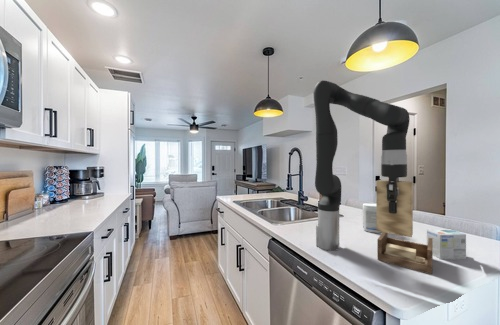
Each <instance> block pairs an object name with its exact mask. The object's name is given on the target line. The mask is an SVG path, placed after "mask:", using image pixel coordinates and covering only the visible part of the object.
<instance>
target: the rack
mask: <svg viewBox="0 0 500 325" xmlns="http://www.w3.org/2000/svg"><path fill="white" fill-rule="evenodd" d="M388 234H389V233H385V232H381V233H380V235H379V236H378V237H377V241H376V242H377V249H376V250H377V260H378V261H380V262H384V263H388V264H391V265H394V266H398V267H402V268H406V269H410V270H414V271H416V272H421V273H425V274H429V275H433V257H434V256H433V238H428V245H427V244H423V243H419V242H414V241H409V240H404V239H399V238H393V237H389V236H388ZM387 243H388V244H393V245H398V246H402V247H407V248H412V249H416V256H417V257H422V258H425V264H424V263H419V262H415V261H411V260H407V259H403V258H399V257H395V256H391V255H387V254H384V252H385V250H386V245H387Z"/></svg>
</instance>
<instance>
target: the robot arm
mask: <svg viewBox="0 0 500 325" xmlns="http://www.w3.org/2000/svg"><path fill="white" fill-rule="evenodd" d="M313 104H314V112H315V147H316V150H315V152H316V158H315V159H316V165H315V166H316V167H315V178H314V187H315V190H316V192H317V193H318V194H319V195H321V196H320V197H321V198H320V200H319V201H318V203H317V224H316V226H315V236H316V237H315V238H316V239H315V246H316V247H318V248H320V249H321V250H324V251H332V252H333V251H334V252H335V251H338V250H339V249H340V205H341V204H342V181H341V179H340V178H339V177H338V175H336V174H334V173H333V163H334V159H335V156H336V152H337V149H338V128H337V126H336V122H335V120H334V119H333V116H332V114H331V113H332V112H331V109H330V108H331V106H330V105H331V104H332V105H338V106H341V107H344V108H347V109H348V110H350V111H352V112H353V113H356V114H358V115H360V116H363V117H365V118H367V119H371V120H373V121H374V122H377V123H379V124H381V125H383V126H387V129H386V134H384V135H383V136H382V137H381V138H382V139H381V156H380V163H381V165H380V166H381V167H380V168H381V169H380V170H381V171H380V172H381V174H380V175H381V177H383V178H388V180H389V181H388V184H387V185H386V187H387V201H388V202H389V213H394V214H396V213H397V196H399V188H397V181H400V178H407V177H408V154H407V135H408V133H409V132H408V131H409V126H410V121H411V120H410V114H409V111H408V110H407V109H406V108H404V107H401V106H398V105H395V104H391V103H387V102H384V101H380V100H379V99H376V98H373V97H370V96H367V95H363V94H359V93H354V92H351V91H348V90H347V89H344V88H342V86H339V85H338V84H337V83H335V82H332V81H329V80H323V79H322V80H320V81H318V82H317V83H316V84H315V86H314V89H313ZM396 190H397V193H396ZM391 195H394V198H391V197H390V196H391Z"/></svg>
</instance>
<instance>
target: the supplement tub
mask: <svg viewBox="0 0 500 325" xmlns="http://www.w3.org/2000/svg"><path fill="white" fill-rule="evenodd" d="M362 229H363V230H364V231H365V232H369V233H373V234H379V233H380V234H381V232H380V231H377V203H367V202H366V203H365V202H364V203H362Z"/></svg>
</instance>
